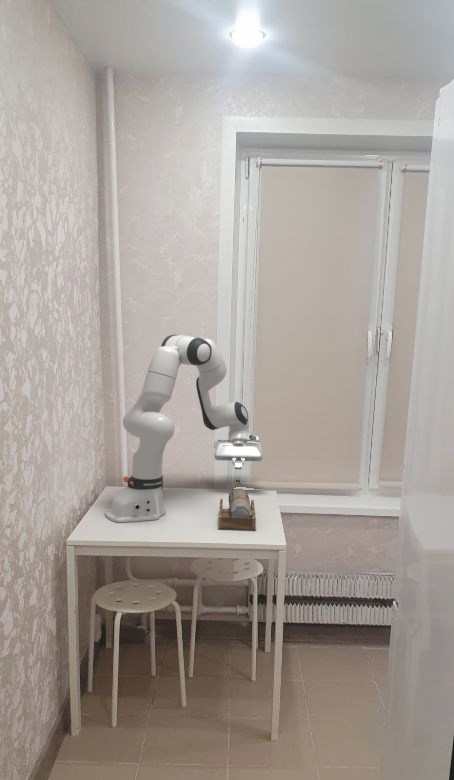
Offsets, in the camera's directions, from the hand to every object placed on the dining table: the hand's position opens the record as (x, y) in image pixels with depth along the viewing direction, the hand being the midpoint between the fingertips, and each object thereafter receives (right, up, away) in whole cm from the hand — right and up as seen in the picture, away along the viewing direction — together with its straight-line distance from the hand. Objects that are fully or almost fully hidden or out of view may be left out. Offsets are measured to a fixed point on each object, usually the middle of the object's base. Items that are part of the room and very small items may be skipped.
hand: (238, 468), depth 249 cm
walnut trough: (-1, -16, -26) cm, 30 cm away
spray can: (0, -10, -14) cm, 17 cm away
